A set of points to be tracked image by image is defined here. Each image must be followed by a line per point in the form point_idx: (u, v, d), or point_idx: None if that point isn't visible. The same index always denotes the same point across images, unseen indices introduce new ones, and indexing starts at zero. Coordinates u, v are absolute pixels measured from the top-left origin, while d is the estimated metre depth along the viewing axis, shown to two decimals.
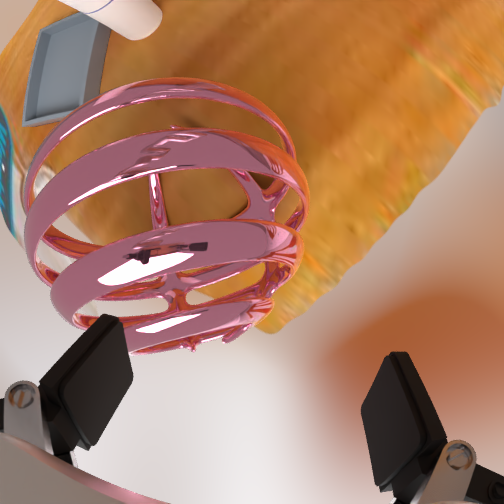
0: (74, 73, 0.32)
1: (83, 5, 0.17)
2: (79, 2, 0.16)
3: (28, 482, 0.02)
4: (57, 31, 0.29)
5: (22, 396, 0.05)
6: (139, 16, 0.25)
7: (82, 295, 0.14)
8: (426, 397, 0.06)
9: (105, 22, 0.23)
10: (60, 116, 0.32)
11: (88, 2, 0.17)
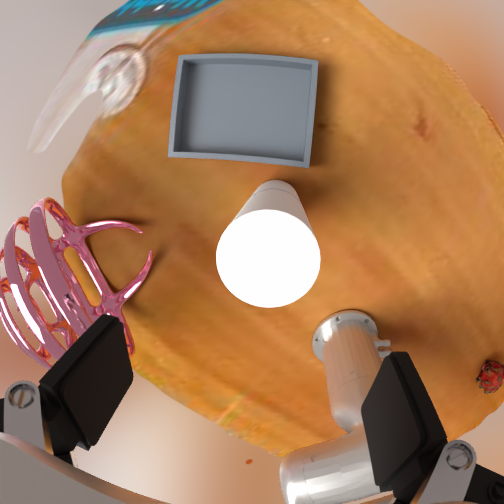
0: (231, 121, 0.38)
1: None
2: None
3: (28, 482, 0.02)
4: (309, 82, 0.35)
5: (22, 396, 0.05)
6: None
7: (9, 327, 0.24)
8: (426, 397, 0.06)
9: None
10: (171, 124, 0.36)
11: None
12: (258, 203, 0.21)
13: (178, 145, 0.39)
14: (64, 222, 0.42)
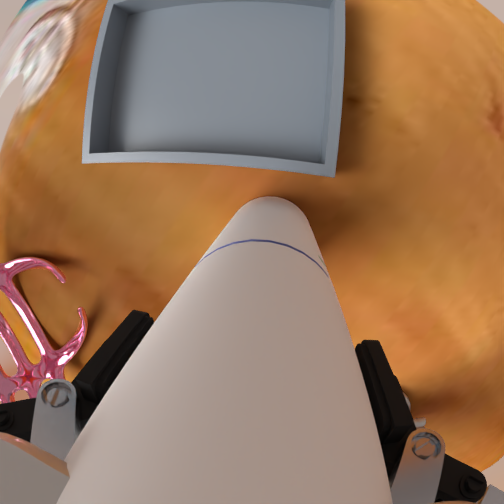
0: (188, 93, 0.20)
1: None
2: None
3: (28, 482, 0.02)
4: (329, 26, 0.17)
5: (56, 395, 0.05)
6: None
7: None
8: (393, 384, 0.06)
9: None
10: (87, 107, 0.18)
11: None
12: (133, 456, 0.03)
13: (103, 141, 0.21)
14: None
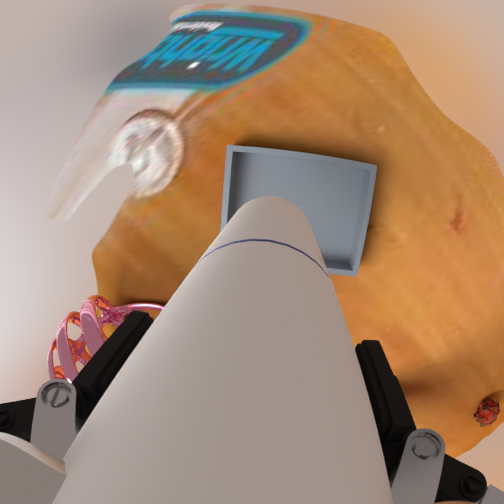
0: None
1: None
2: None
3: (28, 482, 0.02)
4: (363, 183, 0.37)
5: (56, 395, 0.05)
6: None
7: None
8: (394, 384, 0.06)
9: None
10: (222, 226, 0.39)
11: None
12: (130, 457, 0.03)
13: None
14: (104, 306, 0.44)
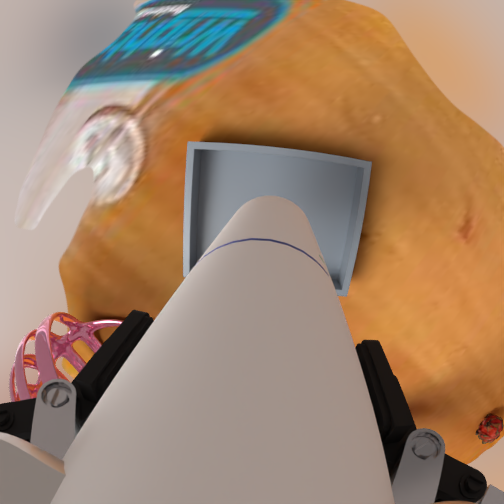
0: None
1: None
2: None
3: (28, 482, 0.02)
4: (355, 184, 0.31)
5: (56, 395, 0.05)
6: None
7: None
8: (393, 384, 0.06)
9: None
10: (184, 238, 0.32)
11: None
12: (130, 457, 0.03)
13: (194, 257, 0.35)
14: (70, 322, 0.38)
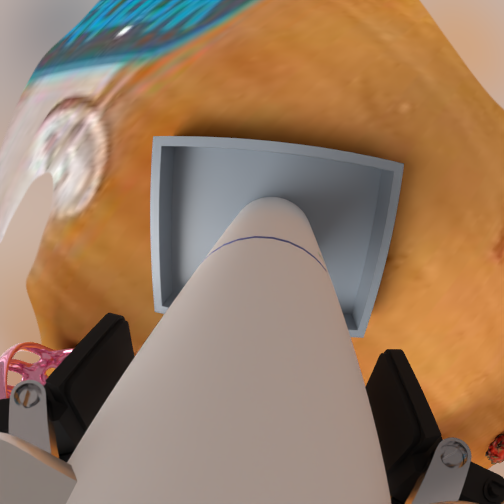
0: None
1: None
2: None
3: (28, 482, 0.02)
4: (379, 193, 0.23)
5: (28, 396, 0.05)
6: None
7: None
8: (420, 394, 0.06)
9: None
10: (153, 265, 0.24)
11: None
12: (157, 413, 0.04)
13: (169, 286, 0.27)
14: (38, 351, 0.30)
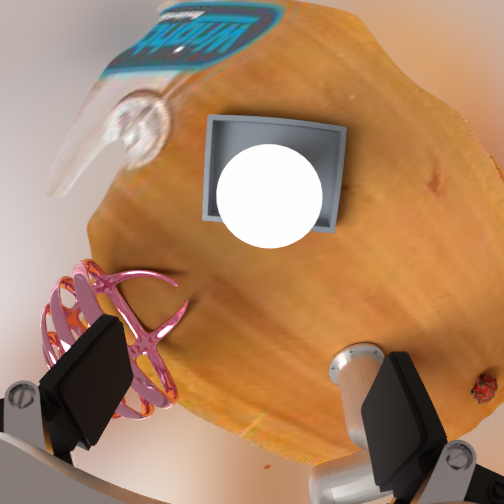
0: None
1: None
2: None
3: (28, 482, 0.02)
4: (336, 146, 0.39)
5: (22, 396, 0.05)
6: None
7: None
8: (426, 397, 0.06)
9: None
10: (204, 188, 0.41)
11: None
12: None
13: (211, 206, 0.44)
14: (97, 273, 0.46)
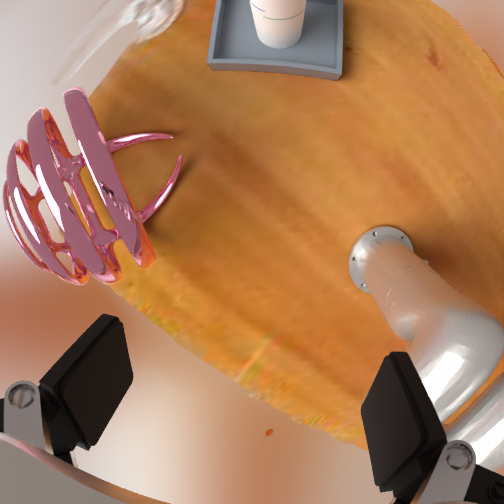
0: None
1: None
2: None
3: (28, 482, 0.02)
4: (335, 13, 0.32)
5: (22, 396, 0.05)
6: (261, 29, 0.30)
7: (13, 203, 0.21)
8: (426, 397, 0.06)
9: None
10: (211, 37, 0.33)
11: None
12: None
13: (216, 57, 0.36)
14: None
